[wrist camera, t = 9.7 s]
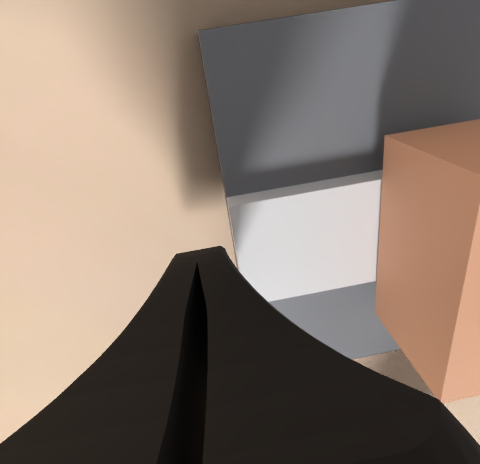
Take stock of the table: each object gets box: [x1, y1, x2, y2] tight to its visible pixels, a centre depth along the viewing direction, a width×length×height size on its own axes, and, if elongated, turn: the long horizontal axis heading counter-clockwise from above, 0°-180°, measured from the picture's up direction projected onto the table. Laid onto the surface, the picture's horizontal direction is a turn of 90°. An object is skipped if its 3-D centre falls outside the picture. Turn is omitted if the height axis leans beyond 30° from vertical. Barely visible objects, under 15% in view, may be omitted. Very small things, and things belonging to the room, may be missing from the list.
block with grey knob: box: [375, 119, 480, 403], centre depth 9 cm, size 3×6×4 cm, turn 8°
